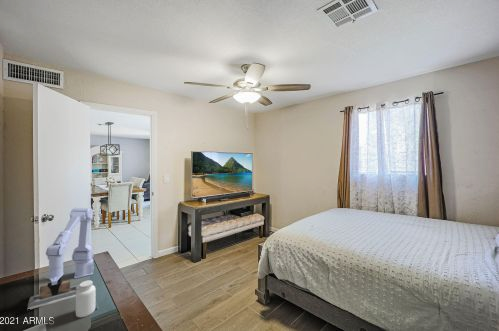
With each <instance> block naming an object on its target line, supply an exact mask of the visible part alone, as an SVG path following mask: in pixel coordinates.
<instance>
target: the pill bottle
mask: <svg viewBox="0 0 499 331" xmlns="http://www.w3.org/2000/svg"><path fill="white" fill-rule="evenodd" d="M78 285H79V284H78ZM96 290H97V289H96V286H95V285H94V284H93V280H90V279H89V280H88V279H87V280H84V281H82V282H81V283H80V285H79V289H78V290H77V292H76V297H75V315H76V317H77V318H84V317H88V316H89V315H91V314H93V313H94V312H95V310H96V299H97V298H96V297H97V296H96V292H97V291H96Z"/></svg>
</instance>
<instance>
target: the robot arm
mask: <svg viewBox="0 0 499 331" xmlns="http://www.w3.org/2000/svg"><path fill="white" fill-rule="evenodd" d="M93 217H94V210H93V209H92V208H91V207H88V208H86V207H84V208H83V207H74V208H72V209H71V211H70V213H69V218H70V219H69V221H68V223H67V224H66V227H65V228H64V230H63V231H60V232H59V234H58V235H57V237H56V238H55V240H54V242H53V243H52V244H51V245H49V246H48V247H47V248H46V251H45V255H46V257H47V260H48V274H46V276H45V279H49V280H50V282H48V283H47V284H46V285H47V286H48V288H49V289H50V290H51V294H52V296H53V295H57V294H58V291H59V287H60V285H61V283H62V282H63V280H62V277H63V275H64V274H65V272H64V254H65V253H66V251H67V247H68V243H69V241H70V240H71V238H72V236H73V234H72V232H73V231H74V229H75V228H76V227H77V225H78V224H79V222H80V224H79V225H80V226H79V235H78V246H76V247H75V248H74V249H73V252H72V255H71V260H72V261H73V262H74V263H75V272H74V275H73V276H74V277H73V279H79V278H82V277H83V278H84V277H88V276H91V275H93V274H94V269H95V267H94V258H93V257H94V247H92V246H91V245H89V243H90V242H89V239H90V231H91V230H90V228H91V222H92V220H93Z"/></svg>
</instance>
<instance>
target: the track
mask: <svg viewBox="0 0 499 331" xmlns="http://www.w3.org/2000/svg"><path fill="white" fill-rule="evenodd" d="M80 284H81V283H80ZM80 284H79V283H78V284H76V285H70V292H67V293H63V294H59V295H56V296H52V297H48V298H44V299H41V300H39V295H40V293H38V294H36V295H32V296H30V297H29V300H28V303H27V310H28V309H30V310H33V309H36V308H41V307H44V306H48V305H50V304H54V303H59V302H62V301H66V300H68V299H69V300H70V299H73V298H76V292H77V290H78V289H79V285H80Z"/></svg>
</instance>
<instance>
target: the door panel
mask: <svg viewBox="0 0 499 331" xmlns="http://www.w3.org/2000/svg"><path fill="white" fill-rule="evenodd" d="M47 285H48V284H45V285H42V286H40V287H39V294H40V295H39V294H38V295H39V300H41V299H44V298H48V297H52V294H51V290H50V289H49V288H48V286H47ZM70 287H71V279H68V280H62V283H61V285H60V287H59V291H58V294H57V295H59V294H63V293H67V292H70ZM53 296H56V295H53Z"/></svg>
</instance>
